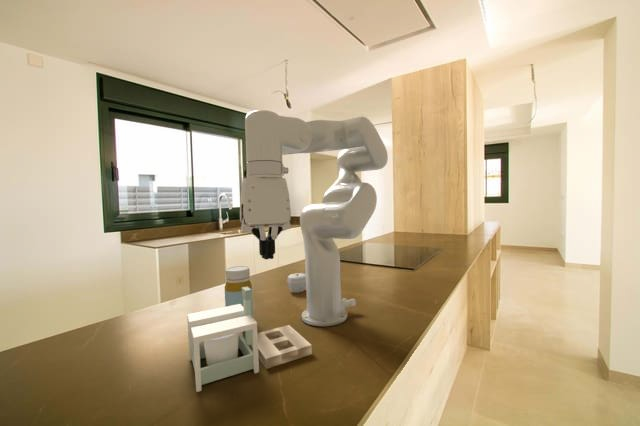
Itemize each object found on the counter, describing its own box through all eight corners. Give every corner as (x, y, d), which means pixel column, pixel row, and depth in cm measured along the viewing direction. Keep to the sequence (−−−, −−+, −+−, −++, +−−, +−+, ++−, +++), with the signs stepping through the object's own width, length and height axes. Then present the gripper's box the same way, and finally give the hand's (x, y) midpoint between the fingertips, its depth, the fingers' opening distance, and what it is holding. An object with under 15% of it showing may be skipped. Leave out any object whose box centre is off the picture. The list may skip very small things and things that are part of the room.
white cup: (229, 377, 54) (228, 340, 54) (196, 374, 55) (194, 337, 55) (246, 357, 61) (244, 324, 60) (216, 355, 62) (214, 322, 62)
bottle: (258, 320, 80) (255, 266, 80) (243, 331, 74) (241, 272, 73) (236, 317, 83) (234, 265, 82) (220, 328, 76) (218, 271, 75)
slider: (245, 345, 65) (243, 282, 65) (259, 366, 57) (256, 294, 56) (192, 359, 60) (188, 291, 60) (198, 386, 51) (194, 306, 51)
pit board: (289, 333, 72) (289, 324, 72) (312, 354, 61) (311, 344, 61) (249, 343, 67) (248, 335, 67) (266, 368, 56) (265, 358, 56)
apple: (313, 290, 106) (312, 272, 106) (300, 296, 100) (299, 277, 99) (295, 287, 111) (295, 270, 110) (282, 293, 104) (281, 275, 104)
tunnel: (242, 345, 66) (240, 303, 66) (259, 372, 55) (256, 322, 55) (189, 359, 61) (187, 314, 61) (196, 392, 50) (193, 337, 50)
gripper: (290, 175, 69) (292, 252, 69) (224, 173, 61) (227, 259, 62) (304, 171, 62) (306, 256, 63) (232, 168, 55) (236, 265, 55)
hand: (267, 258), depth 62 cm, fingers closed
